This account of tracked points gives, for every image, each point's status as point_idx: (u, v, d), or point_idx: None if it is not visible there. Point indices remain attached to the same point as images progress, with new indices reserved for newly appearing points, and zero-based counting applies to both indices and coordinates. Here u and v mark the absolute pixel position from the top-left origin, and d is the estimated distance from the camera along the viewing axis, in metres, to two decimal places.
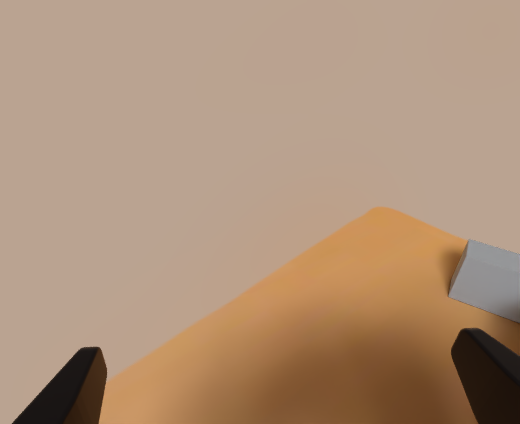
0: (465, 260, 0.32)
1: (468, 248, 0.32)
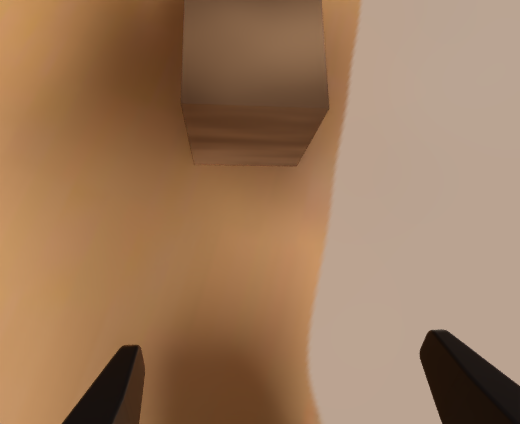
0: None
1: None
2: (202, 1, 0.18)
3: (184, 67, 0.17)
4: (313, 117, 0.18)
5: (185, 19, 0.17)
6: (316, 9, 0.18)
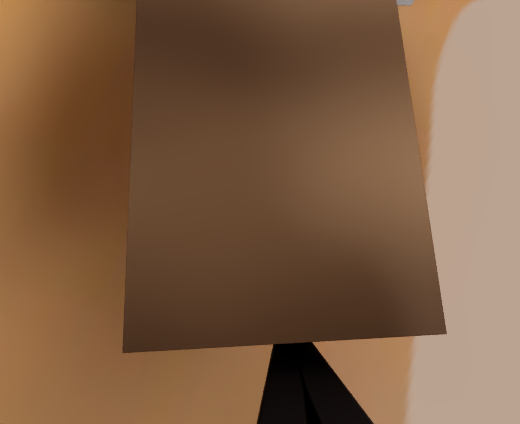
0: None
1: None
2: (171, 101, 0.09)
3: (131, 259, 0.08)
4: None
5: (134, 144, 0.08)
6: (401, 106, 0.09)
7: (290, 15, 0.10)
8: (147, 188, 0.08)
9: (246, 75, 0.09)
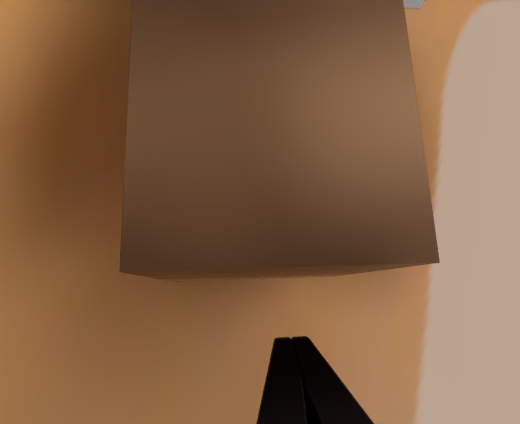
0: None
1: None
2: (168, 34, 0.09)
3: (129, 184, 0.08)
4: (397, 266, 0.09)
5: (132, 74, 0.08)
6: (398, 44, 0.09)
7: None
8: (145, 116, 0.08)
9: (244, 11, 0.09)
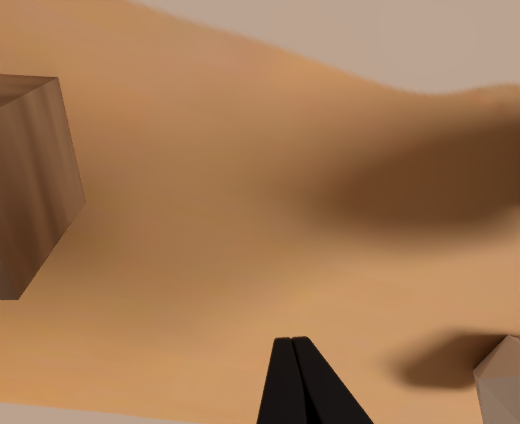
0: None
1: None
2: None
3: None
4: None
5: None
6: None
7: None
8: None
9: None
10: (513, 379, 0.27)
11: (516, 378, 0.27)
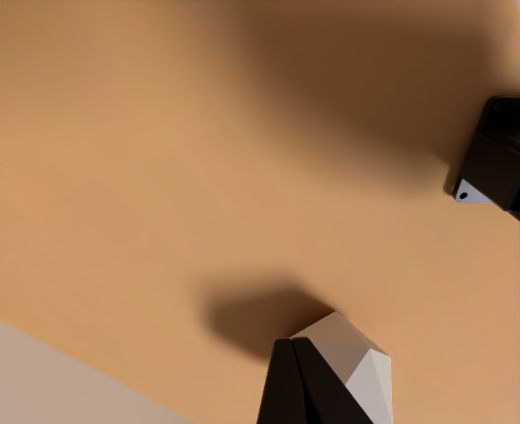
0: None
1: None
2: None
3: None
4: None
5: None
6: None
7: None
8: None
9: None
10: (326, 345, 0.23)
11: (330, 344, 0.23)
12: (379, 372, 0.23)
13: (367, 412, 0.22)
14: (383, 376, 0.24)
